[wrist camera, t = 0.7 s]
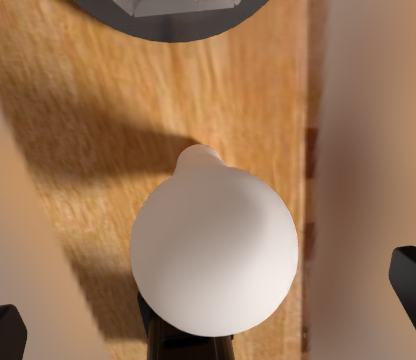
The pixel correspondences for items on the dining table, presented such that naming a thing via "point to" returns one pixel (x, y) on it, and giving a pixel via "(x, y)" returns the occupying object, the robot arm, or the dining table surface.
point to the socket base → (171, 17)
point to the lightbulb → (213, 247)
